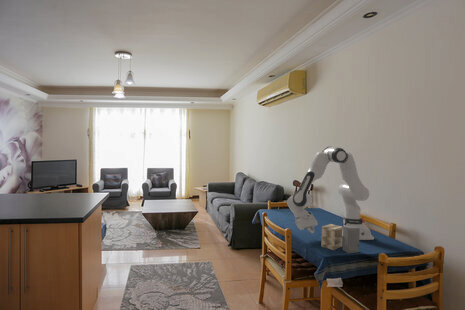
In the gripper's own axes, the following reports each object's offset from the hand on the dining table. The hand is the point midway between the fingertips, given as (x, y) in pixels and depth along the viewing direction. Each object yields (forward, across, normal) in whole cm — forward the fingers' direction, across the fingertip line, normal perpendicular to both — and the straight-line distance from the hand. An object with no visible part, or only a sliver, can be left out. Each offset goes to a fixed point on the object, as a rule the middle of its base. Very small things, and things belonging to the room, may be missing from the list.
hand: (313, 232), depth 213 cm
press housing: (+14, 0, -6) cm, 15 cm away
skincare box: (+23, +2, -14) cm, 27 cm away
